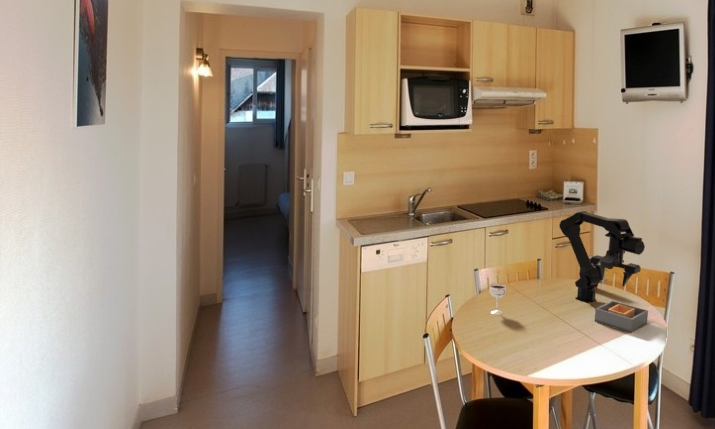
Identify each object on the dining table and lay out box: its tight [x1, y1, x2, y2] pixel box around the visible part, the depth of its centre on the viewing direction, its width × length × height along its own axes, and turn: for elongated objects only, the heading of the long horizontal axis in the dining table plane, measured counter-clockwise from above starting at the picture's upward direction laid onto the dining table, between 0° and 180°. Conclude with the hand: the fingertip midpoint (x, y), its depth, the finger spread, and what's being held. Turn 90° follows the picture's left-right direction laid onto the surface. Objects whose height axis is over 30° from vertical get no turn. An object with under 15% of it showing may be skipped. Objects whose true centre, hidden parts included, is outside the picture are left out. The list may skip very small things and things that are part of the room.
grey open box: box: [594, 300, 649, 334], centre depth 184 cm, size 14×14×6 cm
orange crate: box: [608, 304, 635, 318], centre depth 184 cm, size 6×9×5 cm
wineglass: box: [489, 283, 507, 316], centre depth 196 cm, size 7×7×12 cm
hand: (612, 283), depth 196 cm, fingers open, 9 cm apart
